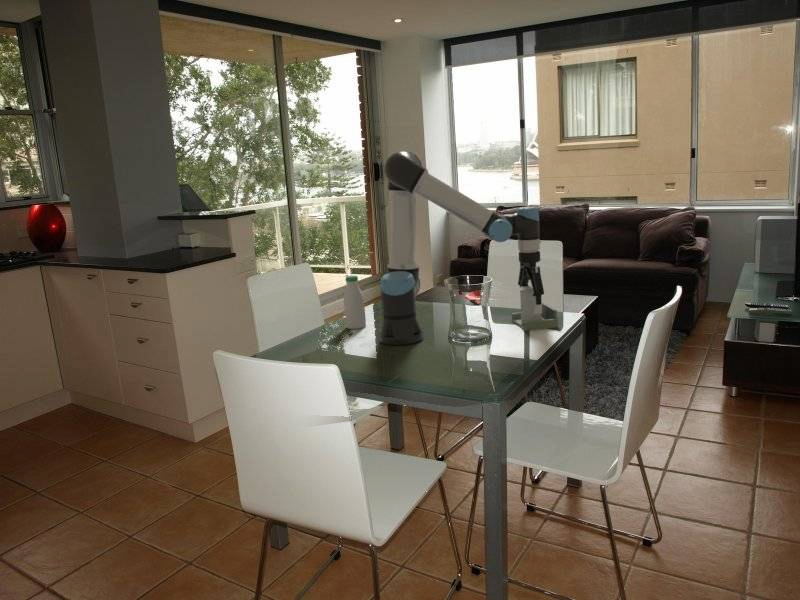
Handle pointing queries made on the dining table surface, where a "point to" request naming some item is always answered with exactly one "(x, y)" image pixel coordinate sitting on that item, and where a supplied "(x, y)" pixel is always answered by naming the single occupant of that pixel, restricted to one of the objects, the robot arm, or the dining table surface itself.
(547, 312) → the chute mount
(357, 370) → the dining table surface
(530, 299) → the supplement box
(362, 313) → the milk bottle
